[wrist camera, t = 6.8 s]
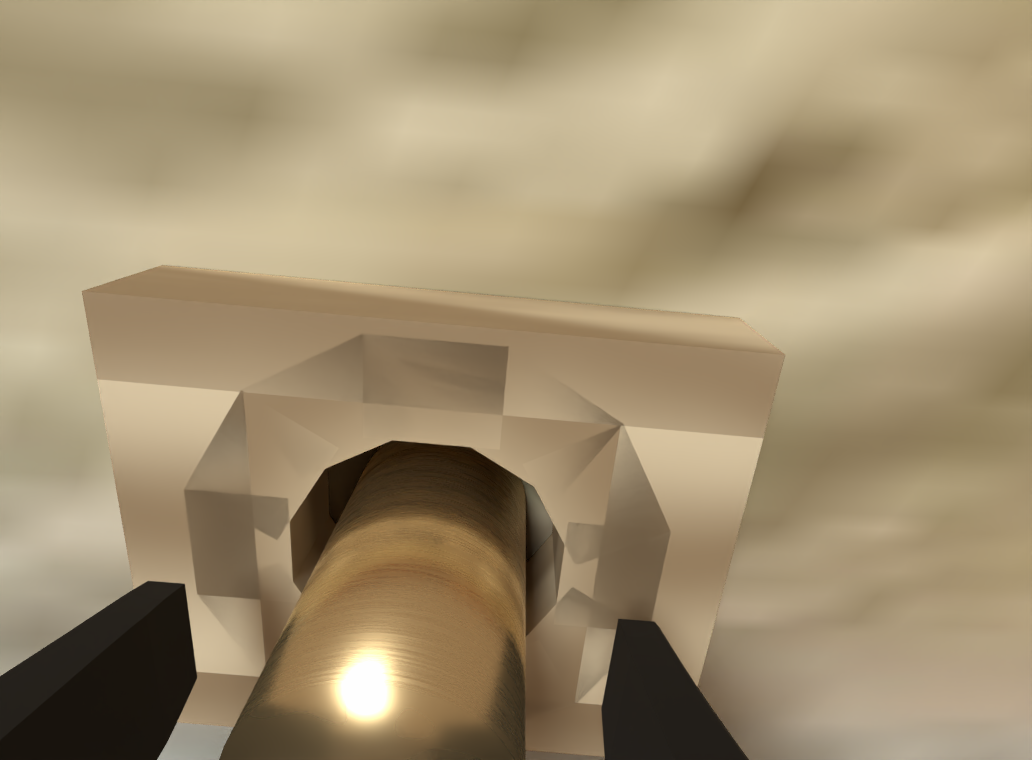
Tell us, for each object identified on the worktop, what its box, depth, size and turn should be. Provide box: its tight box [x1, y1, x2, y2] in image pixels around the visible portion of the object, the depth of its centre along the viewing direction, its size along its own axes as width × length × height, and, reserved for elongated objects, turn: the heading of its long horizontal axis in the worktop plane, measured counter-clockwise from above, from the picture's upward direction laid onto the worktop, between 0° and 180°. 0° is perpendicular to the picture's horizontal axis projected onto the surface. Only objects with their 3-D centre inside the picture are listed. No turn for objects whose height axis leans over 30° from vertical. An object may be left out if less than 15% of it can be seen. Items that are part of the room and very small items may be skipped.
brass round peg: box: [219, 440, 526, 760], centre depth 11 cm, size 4×4×7 cm
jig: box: [82, 265, 785, 757], centre depth 13 cm, size 10×12×2 cm
